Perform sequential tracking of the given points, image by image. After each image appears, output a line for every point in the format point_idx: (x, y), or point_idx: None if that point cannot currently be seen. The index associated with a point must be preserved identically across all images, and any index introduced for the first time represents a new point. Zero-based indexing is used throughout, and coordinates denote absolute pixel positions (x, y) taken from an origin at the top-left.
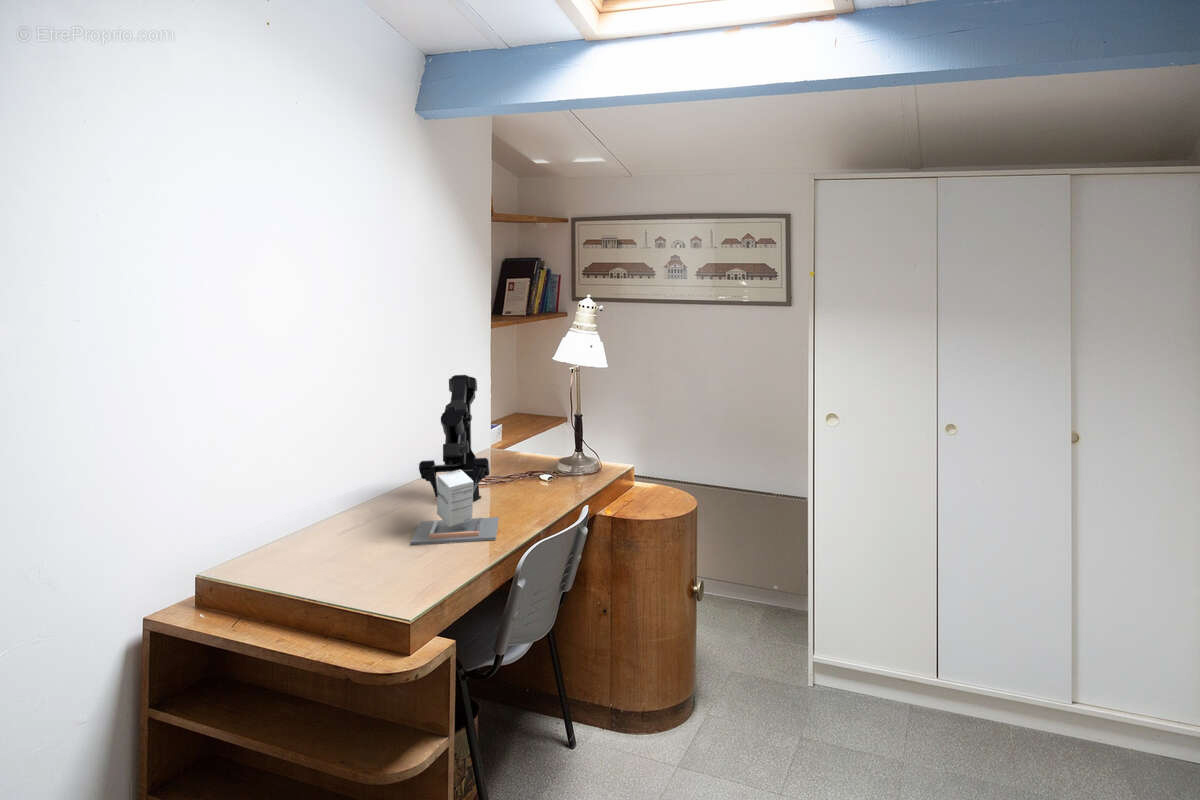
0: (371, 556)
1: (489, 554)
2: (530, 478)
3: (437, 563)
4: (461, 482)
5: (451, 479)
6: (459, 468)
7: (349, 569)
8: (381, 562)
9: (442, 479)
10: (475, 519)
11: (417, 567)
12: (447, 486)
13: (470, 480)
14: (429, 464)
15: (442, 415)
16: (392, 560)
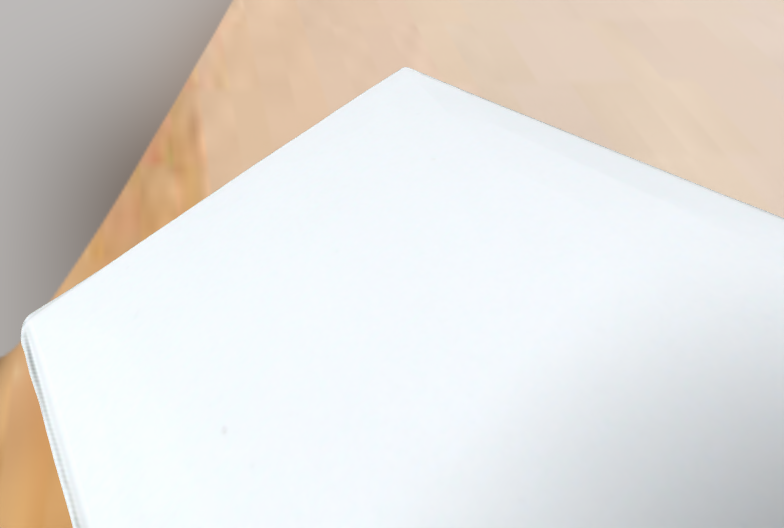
0: (673, 109)
1: (199, 137)
2: None
3: (381, 56)
4: (244, 201)
5: (455, 217)
6: None
7: (668, 7)
8: (594, 59)
9: (644, 169)
10: None
11: (440, 26)
12: (451, 91)
13: (68, 325)
14: None
15: None
16: (564, 76)
